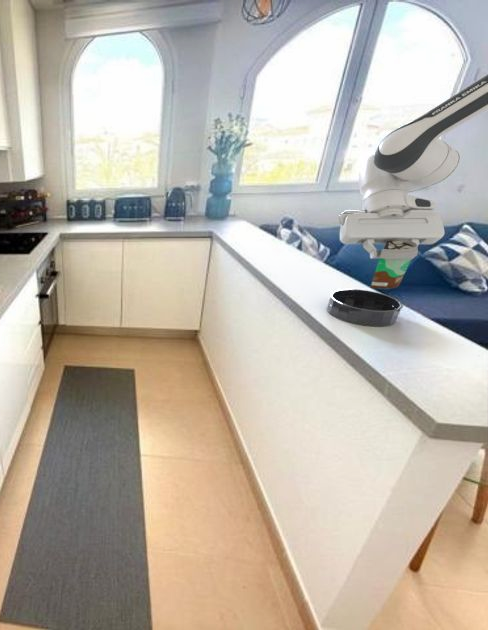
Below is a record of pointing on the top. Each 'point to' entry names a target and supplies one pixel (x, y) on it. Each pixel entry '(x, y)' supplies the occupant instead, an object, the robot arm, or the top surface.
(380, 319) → the pan
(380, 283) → the food container
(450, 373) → the top surface
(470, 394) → the top surface
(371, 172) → the robot arm
